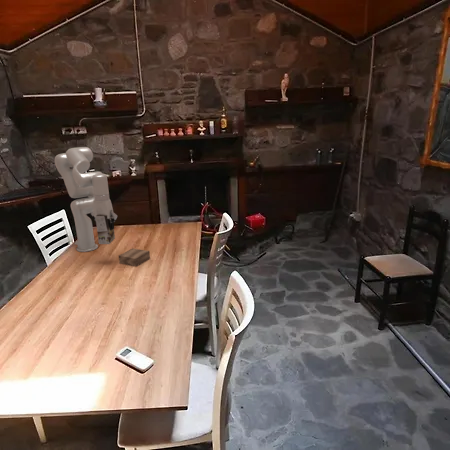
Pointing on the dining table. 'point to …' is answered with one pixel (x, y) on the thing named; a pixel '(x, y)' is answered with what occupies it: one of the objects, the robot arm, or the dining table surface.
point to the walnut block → (134, 257)
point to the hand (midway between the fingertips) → (105, 228)
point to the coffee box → (104, 230)
